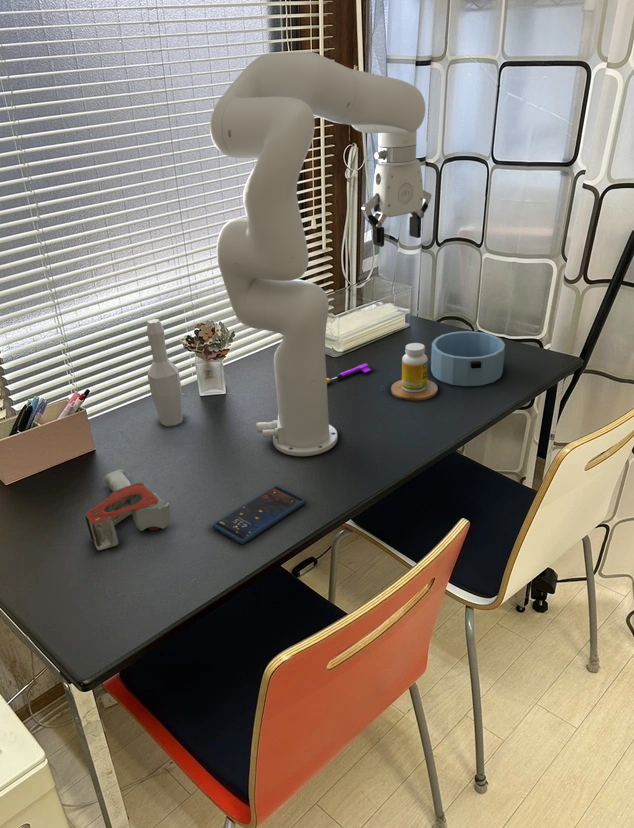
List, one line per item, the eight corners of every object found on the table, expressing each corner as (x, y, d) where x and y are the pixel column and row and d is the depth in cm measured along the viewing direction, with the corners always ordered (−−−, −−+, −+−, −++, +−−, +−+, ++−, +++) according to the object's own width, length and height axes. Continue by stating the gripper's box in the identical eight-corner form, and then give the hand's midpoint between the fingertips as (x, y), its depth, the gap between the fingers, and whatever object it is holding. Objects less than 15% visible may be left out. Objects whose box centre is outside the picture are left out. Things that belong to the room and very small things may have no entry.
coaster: (394, 402, 149) (394, 399, 149) (388, 381, 158) (388, 379, 158) (441, 399, 149) (441, 396, 149) (433, 379, 158) (433, 376, 157)
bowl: (438, 390, 153) (439, 362, 149) (425, 358, 168) (426, 332, 164) (511, 385, 152) (514, 357, 149) (491, 353, 167) (493, 327, 164)
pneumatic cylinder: (365, 365, 165) (311, 387, 158) (366, 361, 165) (311, 383, 157) (373, 371, 164) (318, 393, 156) (373, 367, 163) (318, 389, 156)
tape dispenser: (117, 486, 131) (54, 546, 115) (111, 460, 129) (45, 518, 112) (203, 492, 126) (150, 556, 109) (199, 466, 123) (143, 527, 107)
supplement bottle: (402, 382, 156) (403, 341, 151) (427, 382, 155) (428, 341, 150) (400, 392, 152) (401, 351, 146) (426, 393, 150) (427, 351, 145)
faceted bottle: (161, 430, 145) (141, 329, 134) (153, 418, 150) (133, 319, 139) (190, 423, 147) (173, 322, 136) (182, 411, 152) (165, 313, 141)
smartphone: (307, 499, 119) (241, 542, 110) (307, 503, 120) (242, 546, 111) (276, 483, 124) (210, 524, 115) (276, 487, 124) (211, 528, 115)
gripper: (373, 163, 136) (374, 252, 145) (443, 150, 143) (439, 236, 152) (351, 159, 142) (353, 245, 151) (419, 147, 149) (417, 230, 158)
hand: (397, 241), depth 151 cm, fingers open, 9 cm apart
